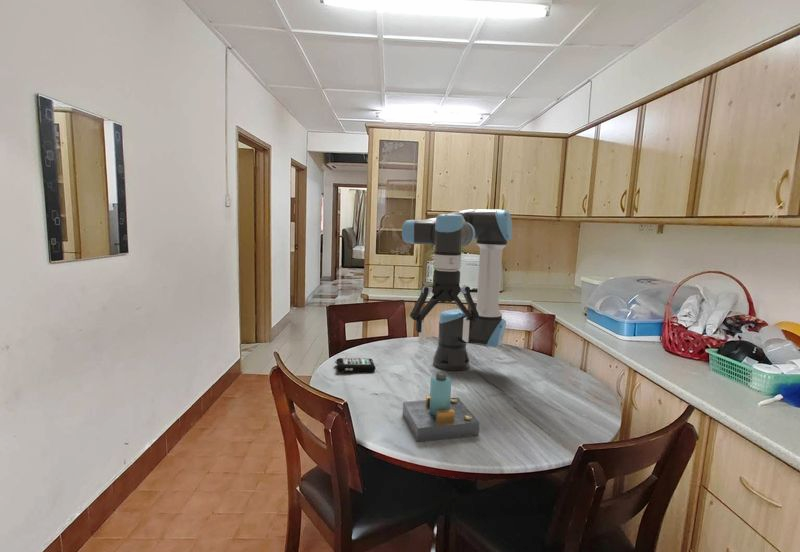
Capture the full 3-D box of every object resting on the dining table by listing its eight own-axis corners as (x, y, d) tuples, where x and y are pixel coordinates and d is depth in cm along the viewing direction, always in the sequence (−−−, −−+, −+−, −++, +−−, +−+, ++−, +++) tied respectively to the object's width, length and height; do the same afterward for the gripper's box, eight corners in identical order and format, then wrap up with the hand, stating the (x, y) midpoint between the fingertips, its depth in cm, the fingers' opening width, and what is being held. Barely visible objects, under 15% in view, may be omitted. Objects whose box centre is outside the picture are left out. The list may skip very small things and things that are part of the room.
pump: (445, 406, 123) (447, 369, 121) (452, 415, 117) (454, 377, 115) (426, 407, 121) (428, 371, 120) (433, 417, 115) (434, 378, 114)
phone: (376, 373, 158) (376, 362, 157) (336, 375, 155) (336, 364, 154) (372, 364, 168) (372, 353, 168) (335, 365, 165) (335, 355, 164)
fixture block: (457, 409, 129) (458, 390, 128) (478, 435, 114) (479, 413, 113) (402, 414, 125) (403, 394, 124) (417, 441, 110) (418, 419, 109)
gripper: (407, 271, 107) (405, 348, 111) (493, 271, 114) (488, 343, 117) (401, 267, 115) (398, 339, 118) (481, 267, 121) (477, 336, 124)
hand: (443, 342), depth 117 cm, fingers open, 13 cm apart
